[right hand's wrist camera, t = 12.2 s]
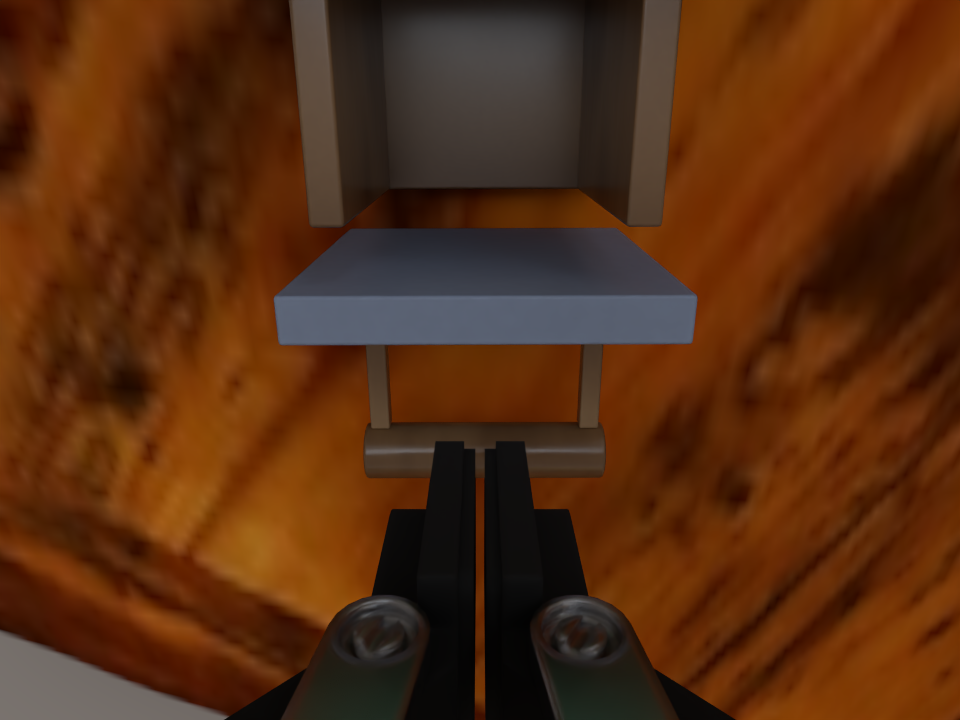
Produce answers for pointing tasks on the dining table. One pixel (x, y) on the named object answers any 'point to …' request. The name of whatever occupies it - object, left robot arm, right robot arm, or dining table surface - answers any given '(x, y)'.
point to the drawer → (485, 165)
